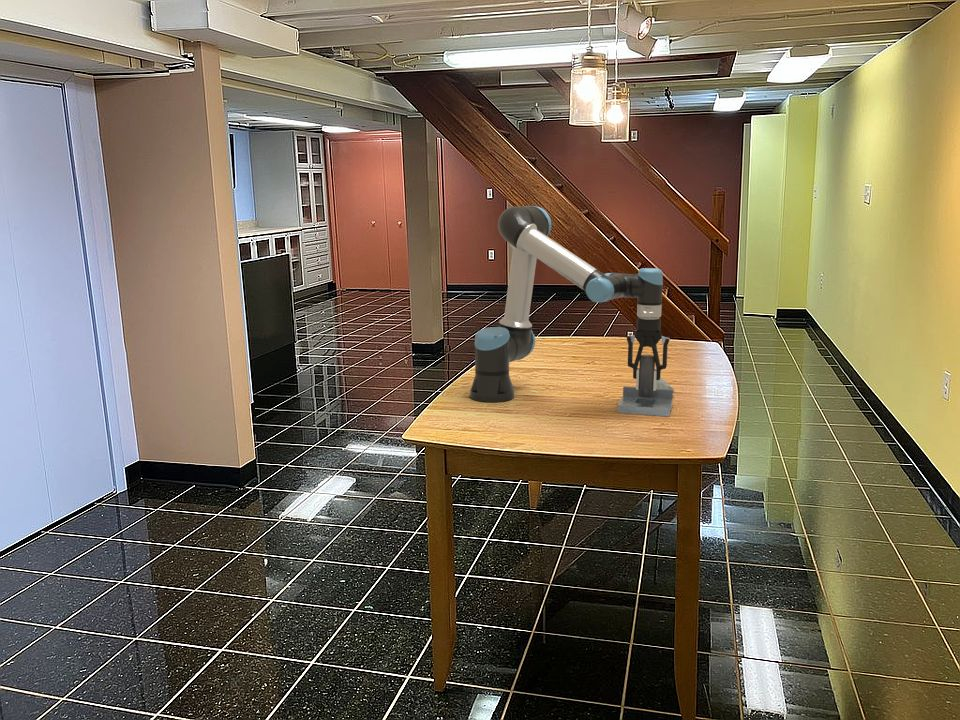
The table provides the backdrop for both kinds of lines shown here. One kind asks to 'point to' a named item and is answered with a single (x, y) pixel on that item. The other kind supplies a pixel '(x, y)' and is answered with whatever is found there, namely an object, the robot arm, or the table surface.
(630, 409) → the plate
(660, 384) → the decorative stone
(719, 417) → the table surface
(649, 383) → the dark grey round peg
